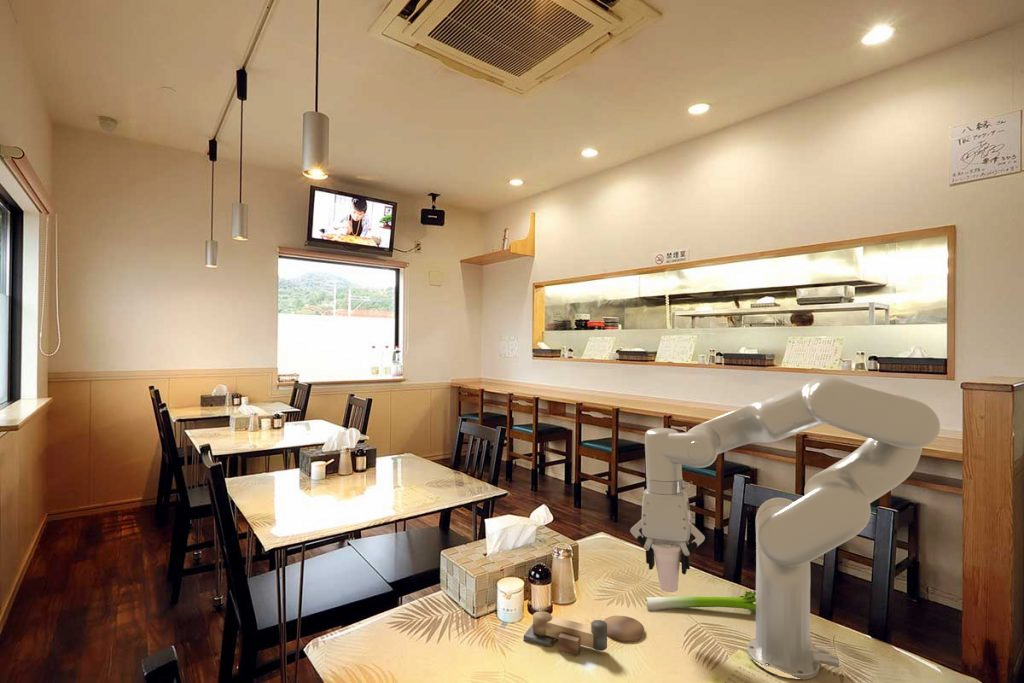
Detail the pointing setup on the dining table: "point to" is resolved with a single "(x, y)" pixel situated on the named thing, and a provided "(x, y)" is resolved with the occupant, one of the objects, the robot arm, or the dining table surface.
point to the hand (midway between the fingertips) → (667, 568)
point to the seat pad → (624, 628)
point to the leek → (701, 602)
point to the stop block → (569, 644)
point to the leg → (571, 629)
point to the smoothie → (667, 563)
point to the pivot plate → (538, 638)
